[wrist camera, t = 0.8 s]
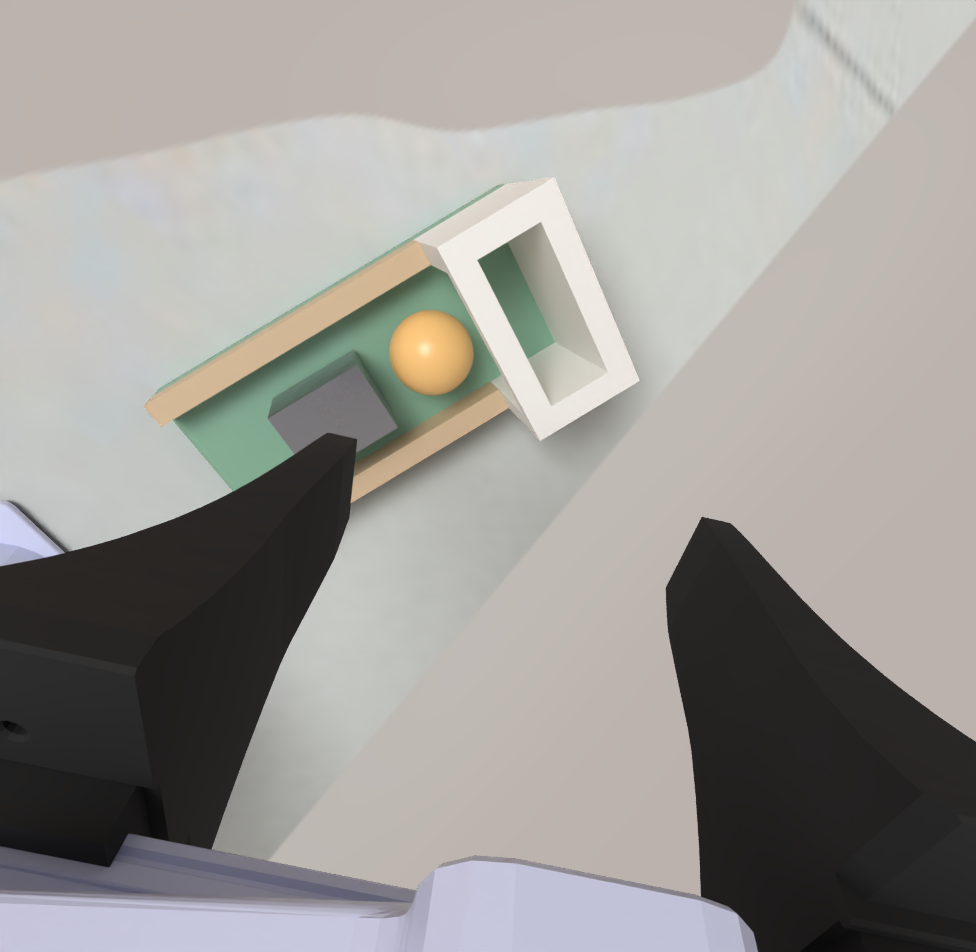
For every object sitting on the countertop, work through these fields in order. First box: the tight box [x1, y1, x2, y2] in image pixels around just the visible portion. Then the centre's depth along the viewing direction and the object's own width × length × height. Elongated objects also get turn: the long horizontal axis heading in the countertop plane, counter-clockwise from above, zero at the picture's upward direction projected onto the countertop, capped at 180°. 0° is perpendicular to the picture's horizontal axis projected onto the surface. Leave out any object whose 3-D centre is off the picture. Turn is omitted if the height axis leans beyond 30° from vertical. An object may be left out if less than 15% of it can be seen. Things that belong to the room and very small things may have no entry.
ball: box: [389, 310, 474, 395], centre depth 26 cm, size 4×4×4 cm
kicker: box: [268, 350, 398, 454], centre depth 26 cm, size 4×3×3 cm
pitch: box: [143, 177, 640, 503], centre depth 26 cm, size 17×8×7 cm, turn 118°
